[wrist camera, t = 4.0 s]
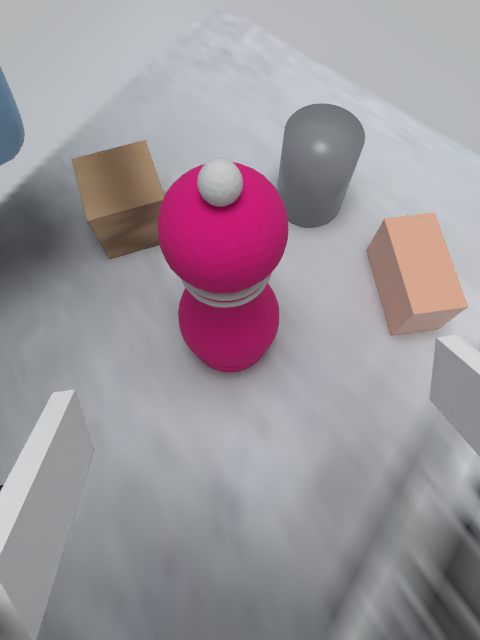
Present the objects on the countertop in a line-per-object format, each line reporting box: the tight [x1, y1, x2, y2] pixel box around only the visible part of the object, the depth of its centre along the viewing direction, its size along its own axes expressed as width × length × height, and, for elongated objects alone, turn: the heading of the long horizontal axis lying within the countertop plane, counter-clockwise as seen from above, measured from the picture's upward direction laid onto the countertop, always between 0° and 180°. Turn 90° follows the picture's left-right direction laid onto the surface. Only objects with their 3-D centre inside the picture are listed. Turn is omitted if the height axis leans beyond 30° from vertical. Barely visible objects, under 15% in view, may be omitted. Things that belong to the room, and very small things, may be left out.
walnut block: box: [72, 140, 164, 259], centre depth 35 cm, size 6×6×6 cm
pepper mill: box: [157, 159, 288, 372], centre depth 25 cm, size 7×7×20 cm
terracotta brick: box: [367, 213, 468, 336], centre depth 33 cm, size 4×8×5 cm, turn 8°
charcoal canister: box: [277, 104, 365, 228], centre depth 35 cm, size 6×6×8 cm
